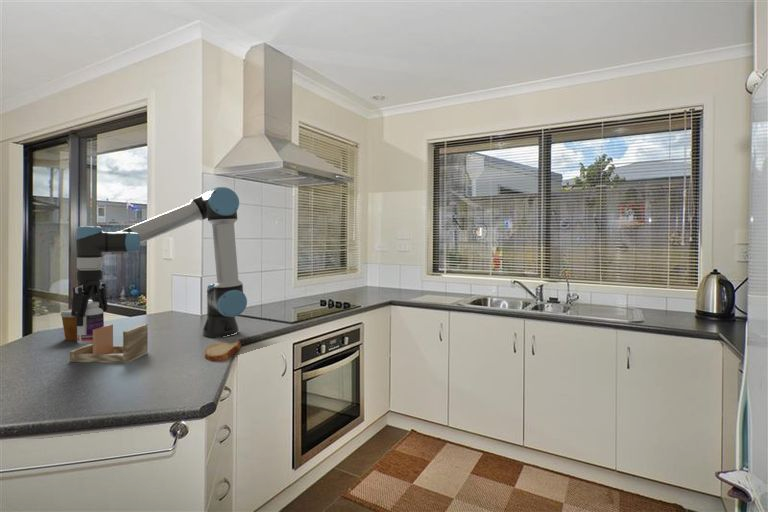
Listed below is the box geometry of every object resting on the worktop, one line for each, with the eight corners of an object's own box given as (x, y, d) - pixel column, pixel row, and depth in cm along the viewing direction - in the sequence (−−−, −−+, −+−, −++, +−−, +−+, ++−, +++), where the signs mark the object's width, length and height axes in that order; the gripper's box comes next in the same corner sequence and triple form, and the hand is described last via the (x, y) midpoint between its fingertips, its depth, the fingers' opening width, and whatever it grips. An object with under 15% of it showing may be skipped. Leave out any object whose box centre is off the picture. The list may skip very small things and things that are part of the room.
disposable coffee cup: (94, 337, 180) (93, 309, 179) (71, 342, 171) (70, 313, 170) (78, 335, 183) (78, 307, 182) (54, 340, 174) (54, 311, 173)
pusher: (113, 350, 156) (112, 324, 156) (96, 358, 147) (96, 329, 147) (109, 350, 156) (109, 324, 156) (92, 357, 147) (92, 329, 147)
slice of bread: (215, 363, 148) (215, 353, 148) (189, 354, 159) (189, 344, 159) (258, 353, 162) (258, 343, 162) (232, 345, 173) (232, 336, 173)
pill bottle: (109, 340, 155) (109, 301, 154) (90, 345, 147) (89, 305, 146) (91, 338, 157) (90, 300, 156) (70, 344, 149) (70, 303, 148)
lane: (147, 353, 158) (147, 324, 158) (127, 362, 146) (127, 331, 145) (94, 351, 158) (94, 322, 158) (69, 361, 146) (69, 330, 145)
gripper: (99, 266, 161) (99, 325, 162) (56, 271, 140) (57, 338, 141) (118, 267, 161) (119, 326, 162) (79, 271, 140) (80, 339, 141)
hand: (90, 332), depth 152 cm, fingers closed on pill bottle, 8 cm apart
